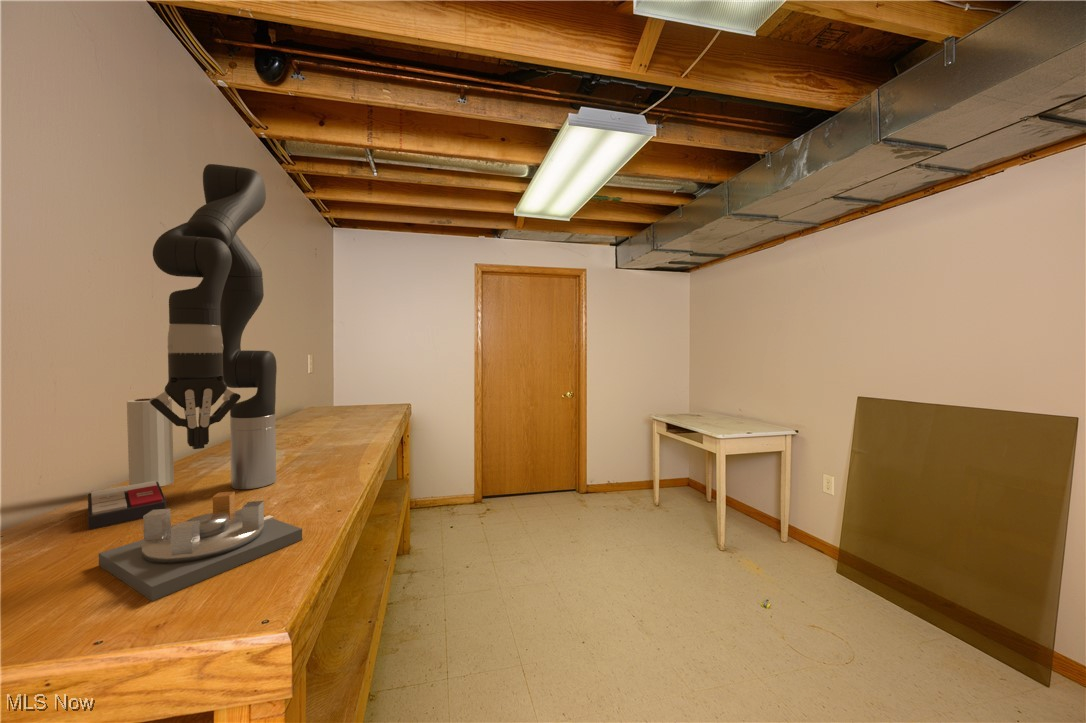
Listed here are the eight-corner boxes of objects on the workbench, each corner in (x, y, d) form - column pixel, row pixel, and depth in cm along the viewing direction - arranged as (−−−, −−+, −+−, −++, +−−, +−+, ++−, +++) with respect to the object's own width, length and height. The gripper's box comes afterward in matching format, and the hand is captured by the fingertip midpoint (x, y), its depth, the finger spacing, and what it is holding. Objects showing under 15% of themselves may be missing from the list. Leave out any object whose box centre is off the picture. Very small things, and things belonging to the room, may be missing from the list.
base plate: (98, 565, 67) (98, 550, 67) (244, 518, 85) (244, 506, 85) (152, 601, 58) (151, 584, 58) (302, 539, 76) (302, 526, 76)
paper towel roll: (121, 490, 100) (119, 400, 99) (149, 482, 106) (146, 397, 105) (148, 492, 99) (145, 401, 98) (174, 484, 105) (171, 398, 104)
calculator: (88, 513, 79) (87, 489, 89) (88, 535, 80) (88, 509, 90) (166, 497, 87) (157, 477, 97) (166, 518, 88) (158, 496, 98)
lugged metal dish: (123, 546, 68) (122, 515, 68) (234, 512, 82) (234, 486, 82) (169, 573, 61) (168, 537, 61) (283, 530, 75) (282, 501, 75)
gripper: (236, 350, 82) (238, 439, 83) (143, 350, 73) (145, 450, 73) (246, 350, 77) (247, 445, 78) (147, 351, 68) (149, 459, 68)
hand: (198, 448), depth 76 cm, fingers closed
